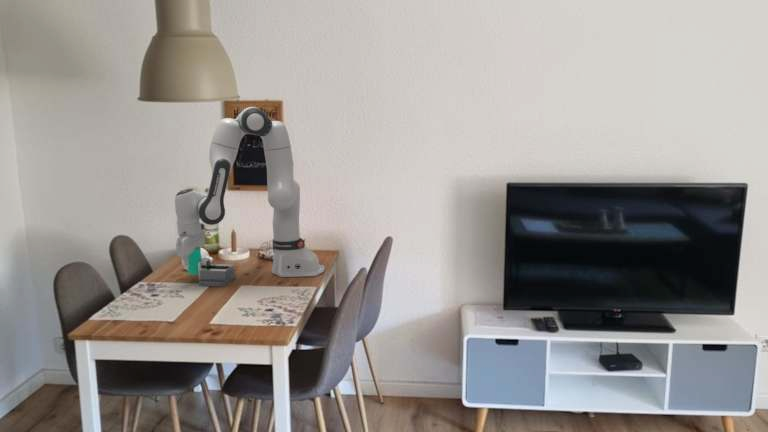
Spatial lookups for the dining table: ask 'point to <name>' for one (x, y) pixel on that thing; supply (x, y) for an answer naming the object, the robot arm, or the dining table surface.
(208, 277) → the grey box
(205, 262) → the light grey block
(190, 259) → the candle
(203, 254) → the mug
